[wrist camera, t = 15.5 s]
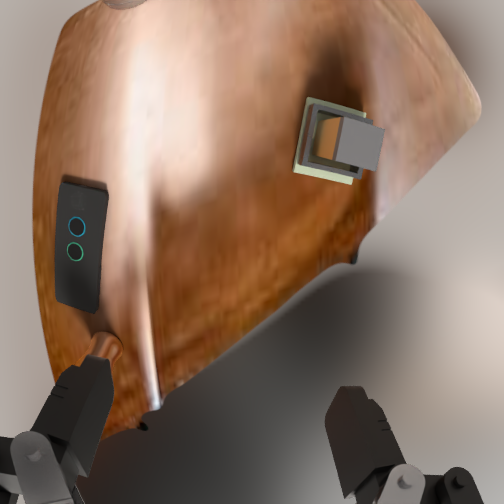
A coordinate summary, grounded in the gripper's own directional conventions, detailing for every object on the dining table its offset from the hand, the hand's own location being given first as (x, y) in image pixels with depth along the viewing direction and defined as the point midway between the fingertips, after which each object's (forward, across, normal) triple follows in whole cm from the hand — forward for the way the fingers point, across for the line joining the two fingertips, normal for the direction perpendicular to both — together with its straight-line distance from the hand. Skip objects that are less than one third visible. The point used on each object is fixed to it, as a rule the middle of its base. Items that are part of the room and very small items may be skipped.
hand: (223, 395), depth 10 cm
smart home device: (+34, +22, +11) cm, 42 cm away
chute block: (+32, -11, -10) cm, 35 cm away
